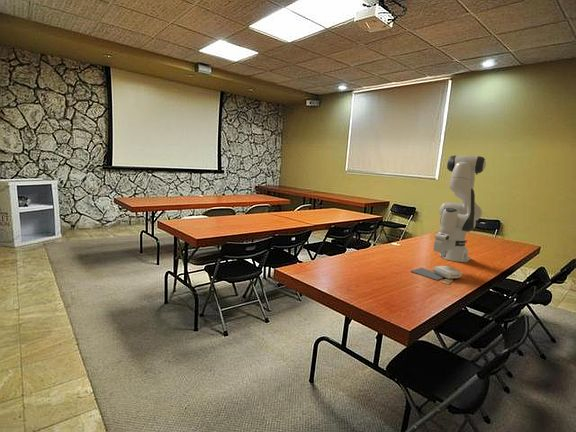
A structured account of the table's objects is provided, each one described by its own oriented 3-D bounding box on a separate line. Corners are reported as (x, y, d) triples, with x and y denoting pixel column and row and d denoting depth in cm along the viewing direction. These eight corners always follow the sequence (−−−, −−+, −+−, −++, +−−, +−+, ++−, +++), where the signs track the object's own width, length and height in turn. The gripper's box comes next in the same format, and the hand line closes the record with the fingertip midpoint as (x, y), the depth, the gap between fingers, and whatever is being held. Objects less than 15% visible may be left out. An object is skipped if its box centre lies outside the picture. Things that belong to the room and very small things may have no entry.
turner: (449, 276, 188) (449, 274, 188) (456, 278, 186) (456, 276, 186) (441, 283, 176) (441, 281, 176) (448, 285, 174) (448, 283, 174)
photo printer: (447, 265, 193) (464, 271, 181) (446, 272, 194) (463, 279, 182) (433, 265, 190) (449, 272, 178) (432, 272, 191) (448, 280, 179)
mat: (421, 268, 199) (421, 267, 199) (447, 276, 187) (447, 275, 187) (410, 271, 192) (410, 270, 192) (436, 280, 179) (437, 279, 179)
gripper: (449, 232, 204) (446, 254, 206) (433, 235, 191) (429, 258, 193) (459, 234, 199) (456, 256, 201) (443, 237, 186) (440, 261, 188)
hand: (443, 257), depth 197 cm, fingers closed
